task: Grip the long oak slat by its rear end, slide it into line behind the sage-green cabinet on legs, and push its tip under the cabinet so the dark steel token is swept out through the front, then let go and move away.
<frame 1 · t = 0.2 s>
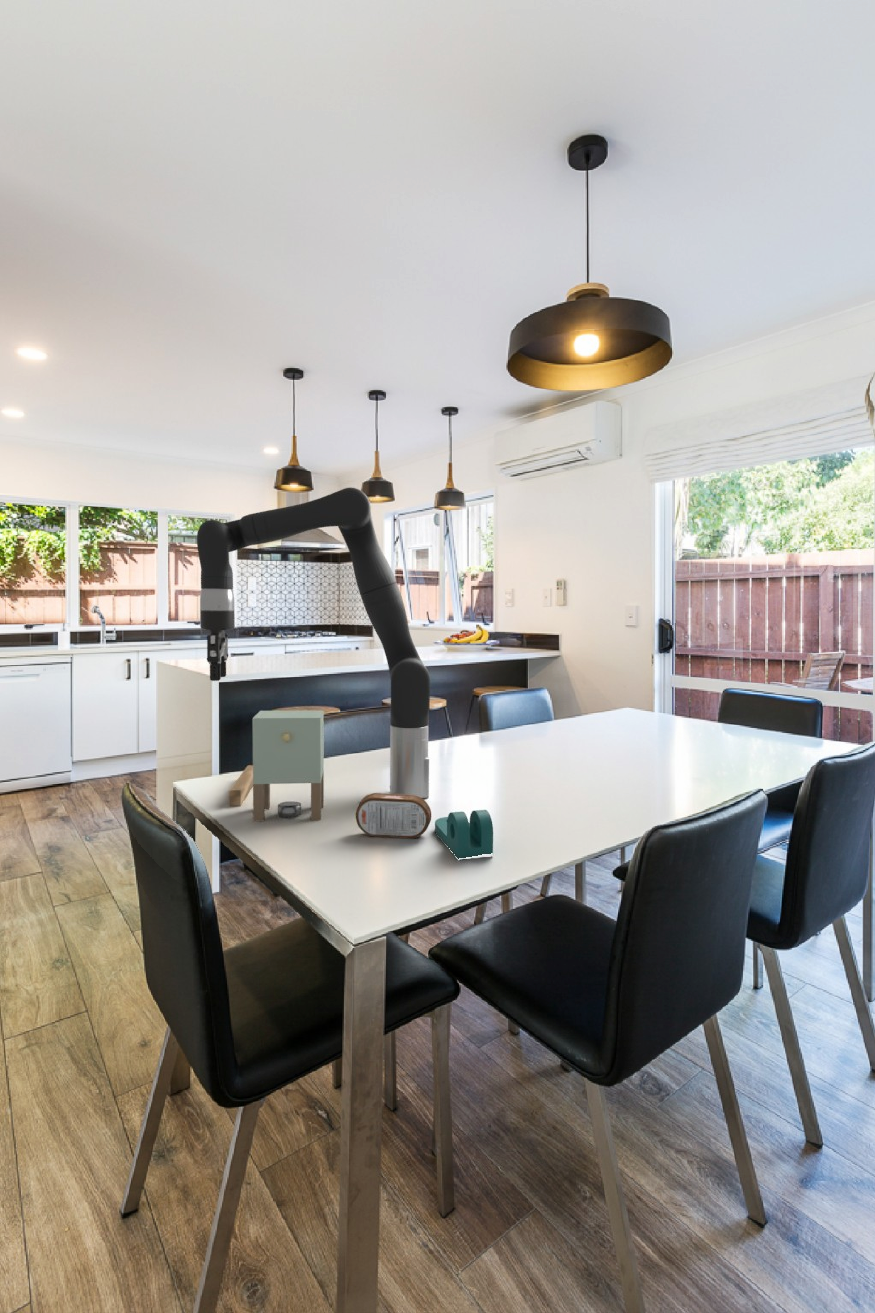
hand: (218, 678, 148), 28 cm above the table, tool pointing down, fingers open, 8 cm apart
tin: (392, 837, 127), on the table
oak slat: (244, 792, 156), on the table
cabinet: (289, 813, 140), on the table
bracket: (459, 843, 124), on the table
steel token: (289, 815, 139), on the table
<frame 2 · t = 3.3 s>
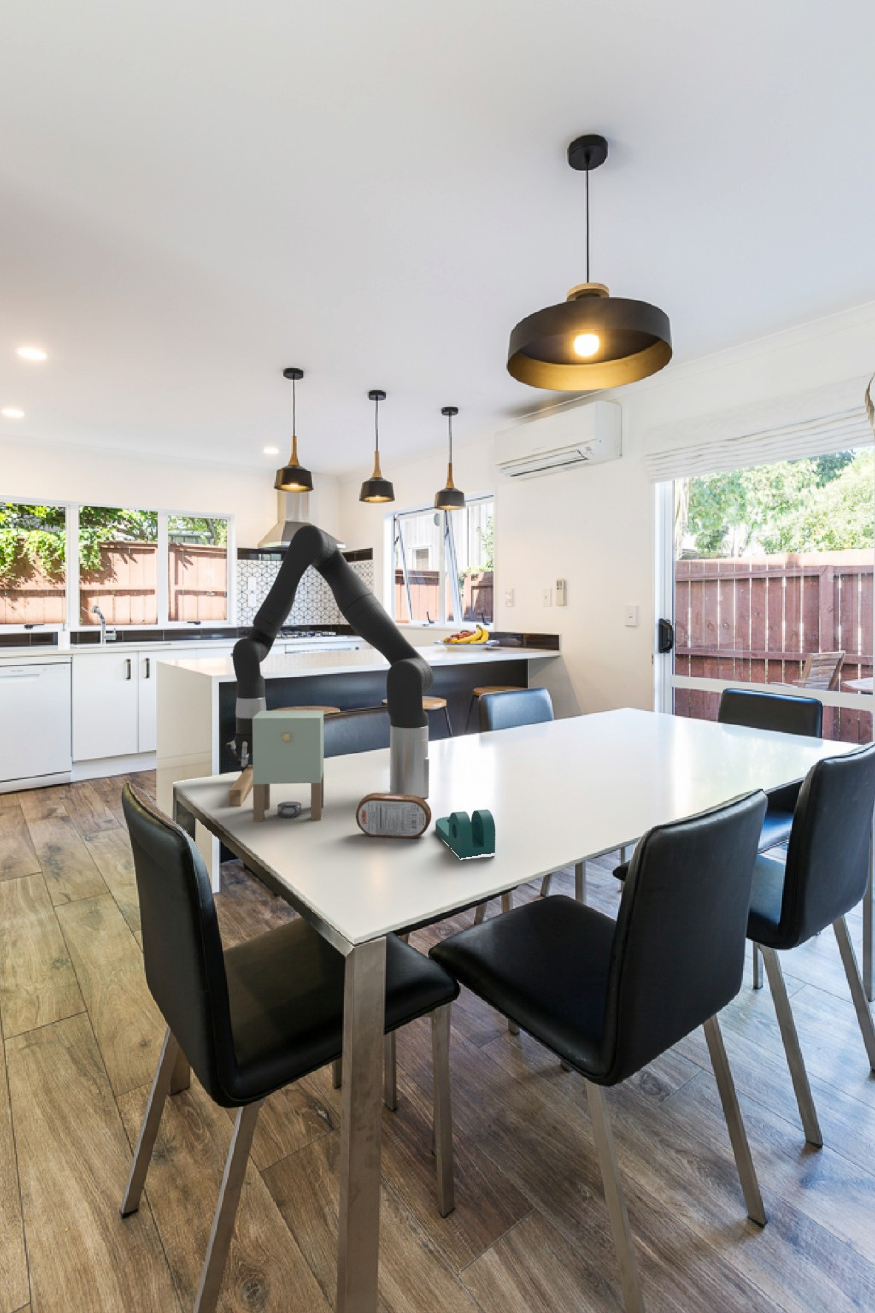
hand: (251, 780, 166), 0 cm above the table, tool pointing down, fingers closed on oak slat, 2 cm apart
oak slat: (244, 792, 156), on the table, touching gripper
everything else where it was.
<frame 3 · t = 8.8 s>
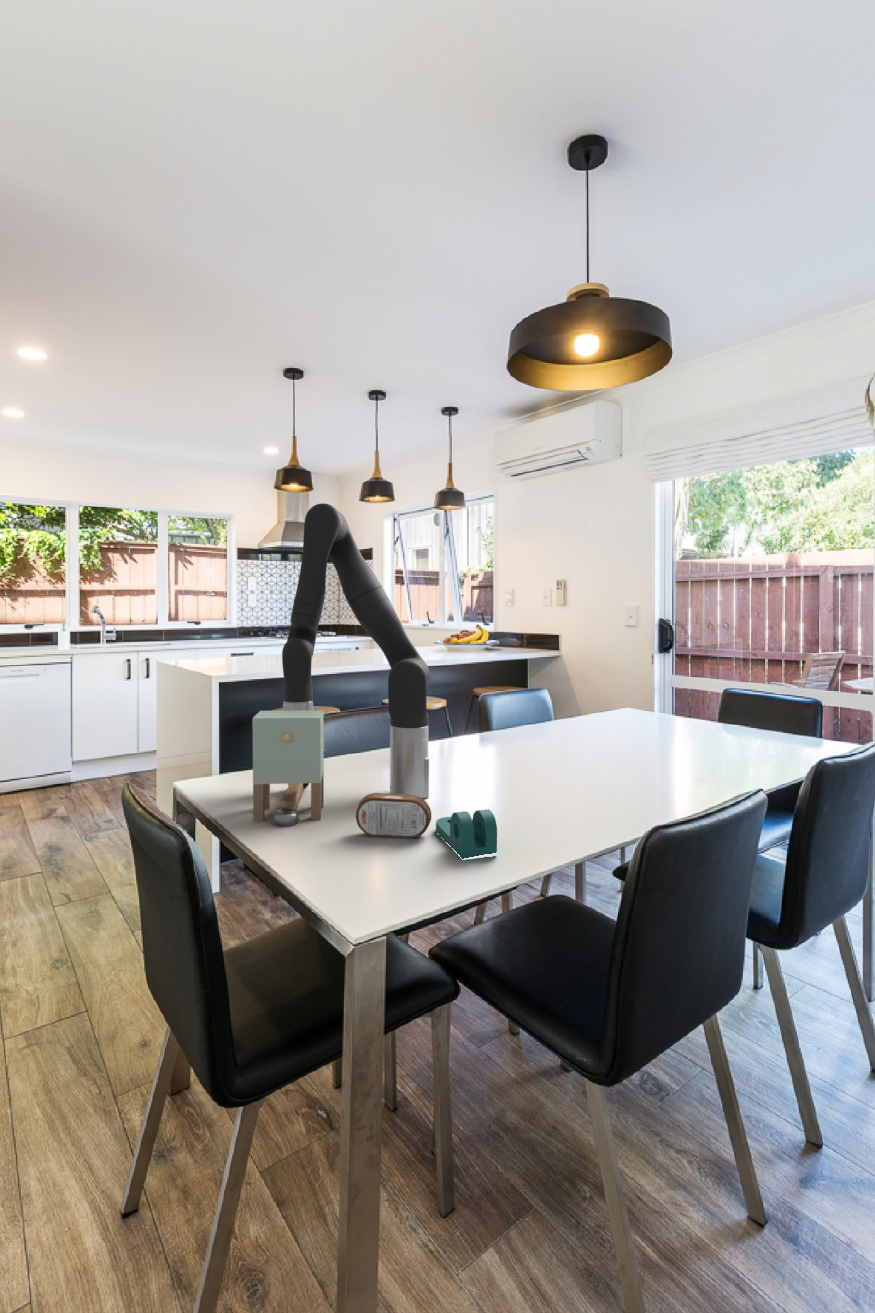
hand: (298, 788, 157), 1 cm above the table, tool pointing down, fingers closed on oak slat, 2 cm apart
oak slat: (294, 803, 148), on the table, touching gripper, steel token
steel token: (285, 823, 134), on the table, touching oak slat
everything else where it was.
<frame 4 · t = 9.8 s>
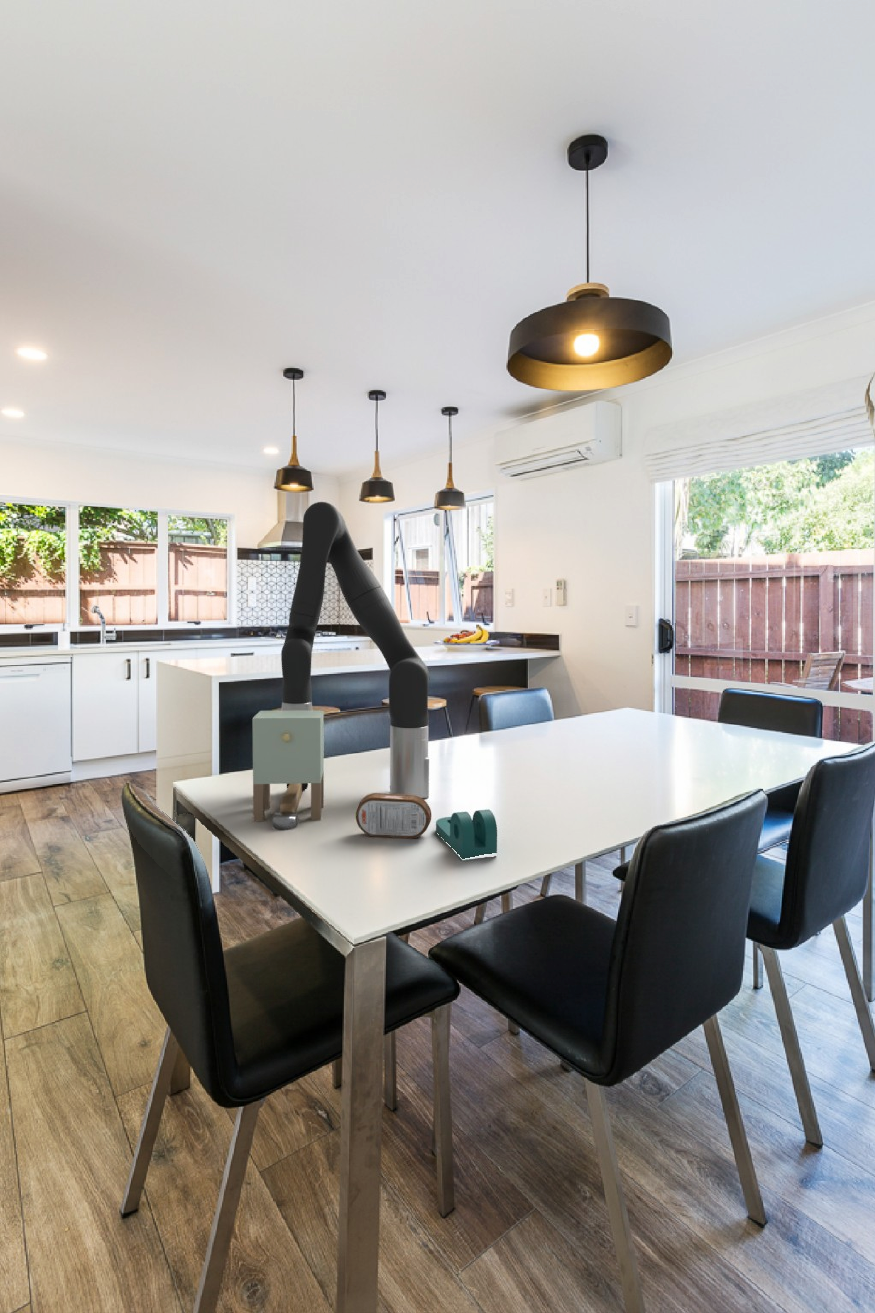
hand: (297, 790, 155), 1 cm above the table, tool pointing down, fingers closed on oak slat, 2 cm apart
oak slat: (293, 805, 146), on the table, touching gripper
steel token: (285, 826, 132), on the table
everything else where it was.
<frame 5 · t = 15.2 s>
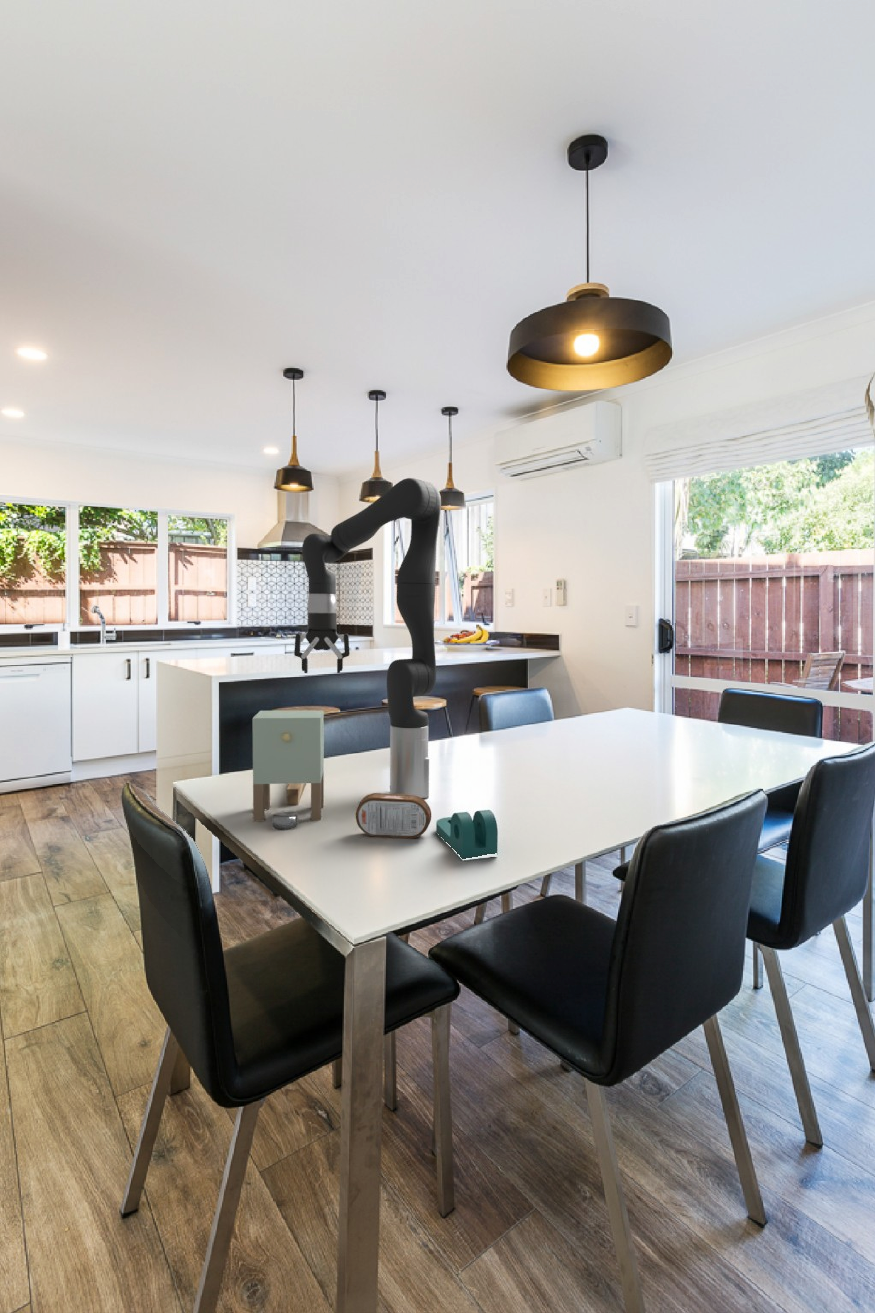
hand: (322, 672, 169), 28 cm above the table, tool pointing down, fingers open, 8 cm apart
oak slat: (298, 791, 158), on the table
everything else where it was.
at the end: steel token inside the target area (4.9 cm from its centre), on the table; steel token tilted 0° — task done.
